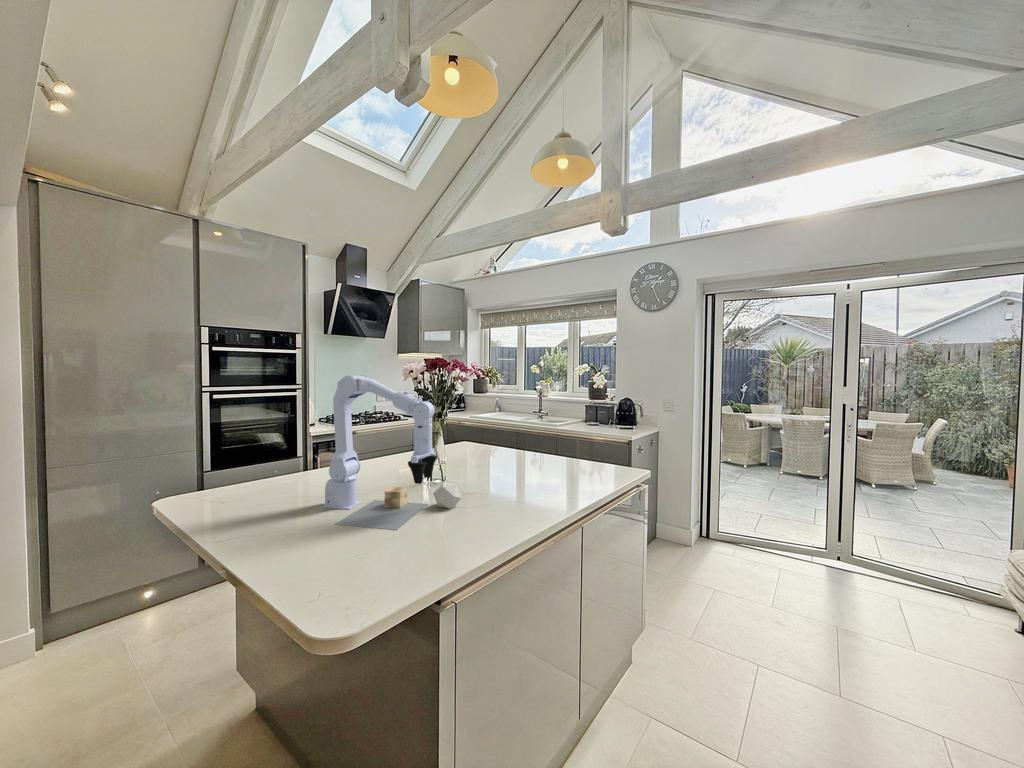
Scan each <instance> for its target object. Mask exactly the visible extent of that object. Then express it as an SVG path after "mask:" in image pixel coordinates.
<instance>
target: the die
mask: <svg viewBox="0 0 1024 768" xmlns="http://www.w3.org/2000/svg"><path fill="white" fill-rule="evenodd" d="M432 494H433V497H434V500H435V503H436V505H437V507H439V508H443V509H449V510H452V509H454V507H455V506H456V505H457V504H458V503H459V501H460V500H461V499H462V495H461V493H460V491H459V488H458V485H457V483H456V484H455V483H450V482H442V484H441V483H440V486H438V488H437V489H436V490H435V491H434V492H433V493H432Z"/></svg>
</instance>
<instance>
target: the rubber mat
mask: <svg viewBox="0 0 1024 768" xmlns="http://www.w3.org/2000/svg"><path fill="white" fill-rule="evenodd" d="M428 505H429V503H421V502H420V503H419V502H408V501H407V504H406V505H405V506H403V507H402V508H401V509H396V508H385V500H379V499H378V500H372V501H371V502H369V503H367V504H365V505H364V506H362V507H361V508H359V509H357V510H355V511H354V512H352V513H351V514H349V515H347V516H345V517H343V519H341V520H339V521H337V522H335V523H334V524H333V525H334V526H339V527H340V526H341V527H352V528H353V527H354V528H364V529H376V530H377V529H378V530H389V531H398V530H399V529H400V528H402V526H404V525H405V524H406V523H408V522H409V521H410V520H411V519H413V518H414V517H415V516H416V515H418V514H419V513H420V512H421V511H422V510H424V509H425V508H426V507H427V506H428Z"/></svg>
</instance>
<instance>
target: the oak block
mask: <svg viewBox="0 0 1024 768" xmlns="http://www.w3.org/2000/svg"><path fill="white" fill-rule="evenodd" d="M384 501H385V508H396V509H401V508H402V507H403V506H405V505H406V504H407V502H408V487H405V486H404V487H403V486H402V487H401V486H391V487H389V488H387V489H386V490H384Z"/></svg>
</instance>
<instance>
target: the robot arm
mask: <svg viewBox="0 0 1024 768" xmlns="http://www.w3.org/2000/svg"><path fill="white" fill-rule="evenodd" d="M336 384H337V385H336V390H335V392H334V395H333V399H332V405H333V406H332V407H333V424H334V441H335V442H334V444H335V445H334V447H335V451H334V454H333V455H332V456H331V458H330V466H329V468H328V475H329V477H330V479H328V480H327V481H326V483H325V486H324V505H323V508H325V509H339V510H351V509H353V508H354V507H356V506H357V505H359V504H361V503H362V500H357V474H359V471H360V470H361V463H360V460H359V458H358V453H357V452H356V451H355V450H354V443H353V442H354V440H353V423H352V421H353V420H352V419H353V418H352V407H351V406H352V403H353V402H354V401H355V400H356V399H357V398H359V397H360V396H362V395H365V394H366V393H372V394H375V395H377V396H379V397H382V398H384V399H386V400H388V401H391V402H392V405H393V406H394V407H395V408H396V409H398V410H401V411H402V412H405V413H407V414H408V415H411V417H412V418H413V420H414V421H413V422H414V424H413V427H414V428H413V429H414V430H413V436H414V439H413V453H412V456H410V460H409V461H407V465H408V467H409V469H410V471H411V474H412V477H413V482H414V484H415V485H418V484H419V485H421V484H422V483H423V478H424V479H425V478H426V479H428V478H429V479H431V477H432V474H433V470H434V469H433V468H434V465H435V463H436V461H437V460H438V455H437V454H436V451H435V448H434V447H433V416H434V415H435V412H436V408H435V406H434V405H433V403H432V402H430V401H429V400H424V401H423V398H422V397H416V396H414V395H412V394H411V393H410V391H408V390H404V391H403V390H400V391H398V392H397V391H395V390H393V389H391V388H389V387H388V386H386V385H385V384H382V383H380V382H379V381H377V380H375V379H373V378H371V377H368V376H366V375H345V376H343V377H342V378H341V379H340V380H339V381H337V383H336Z"/></svg>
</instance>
